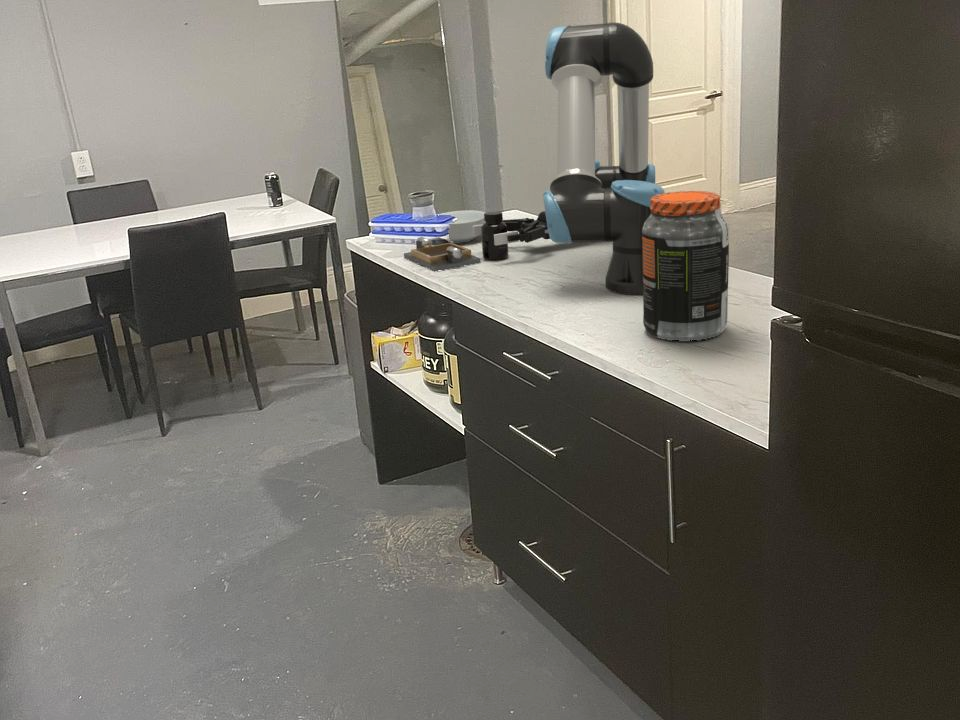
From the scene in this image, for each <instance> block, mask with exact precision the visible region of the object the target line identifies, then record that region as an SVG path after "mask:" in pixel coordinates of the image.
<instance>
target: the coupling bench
mask: <svg viewBox="0 0 960 720" xmlns="http://www.w3.org/2000/svg"><path fill="white" fill-rule="evenodd" d="M415 247H416V248H414V249H411V250H410V251H409V252H404V253H403V257H404V259H405V260H406V259H407V260H408V259H409V260H408V261H410V262H413V263H415V264H417V263H418V265H420V266H422V267H424V268H426V267H427V269H428V268H430V269H429V270H431V269H432V270H431V271H433V270H434V271H433V272H435V271H437V272H439V271H438V270H442V271H444V270H443V269H447V270H449V269H448V268H452V269H456V268H455V267H457V268H460V267H459V266H462V267H465V266H464V265H467V266H471V265H470V264H472V265H476V264H475V263H477V264H480V263H482V260H481V258H480V257H478V256H475V255H473V254H472V249H470V248H467V247H464V246H461V245H459V244H458V243H451V242H450V243H449V242H446V243H441V244H436V245H435V244H434V245H433V242H432V240H431V239H429V238H427V237H424V236H420V237H418V238H417V240H416V241H415Z"/></svg>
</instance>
